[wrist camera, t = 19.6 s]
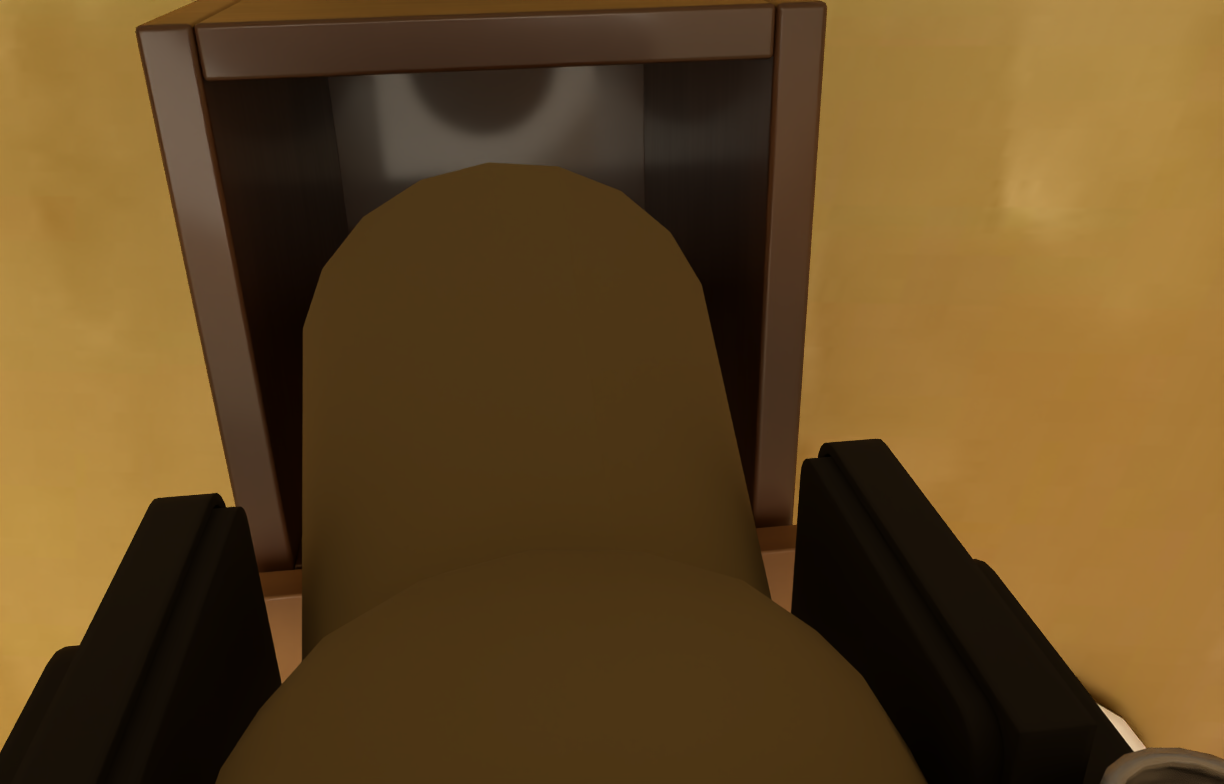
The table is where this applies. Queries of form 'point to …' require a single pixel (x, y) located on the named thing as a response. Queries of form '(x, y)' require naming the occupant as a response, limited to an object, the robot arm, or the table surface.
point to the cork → (537, 519)
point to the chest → (472, 135)
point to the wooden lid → (287, 593)
